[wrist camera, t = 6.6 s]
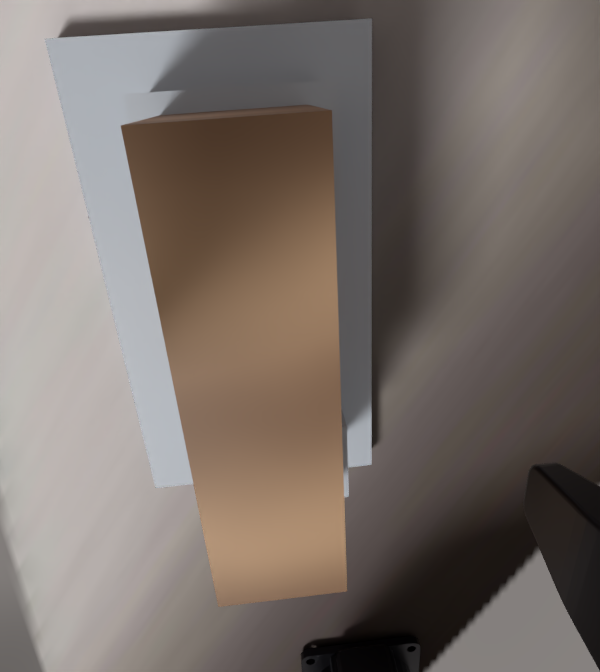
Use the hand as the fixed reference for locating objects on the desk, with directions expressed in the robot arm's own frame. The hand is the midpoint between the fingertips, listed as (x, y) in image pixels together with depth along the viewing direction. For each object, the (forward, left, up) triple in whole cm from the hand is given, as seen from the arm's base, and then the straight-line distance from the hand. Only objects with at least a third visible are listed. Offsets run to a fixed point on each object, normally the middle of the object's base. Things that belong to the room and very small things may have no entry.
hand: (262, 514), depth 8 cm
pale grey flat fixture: (0, 0, -11) cm, 11 cm away
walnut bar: (0, 0, -7) cm, 7 cm away
